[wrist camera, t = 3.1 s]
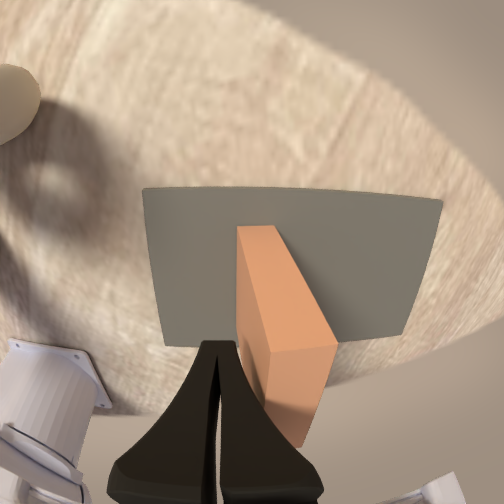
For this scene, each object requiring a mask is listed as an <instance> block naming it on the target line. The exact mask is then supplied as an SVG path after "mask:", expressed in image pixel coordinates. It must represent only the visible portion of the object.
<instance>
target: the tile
mask: <svg viewBox="0 0 504 504" xmlns="http://www.w3.org/2000/svg"><path fill="white" fill-rule="evenodd" d="M236 329H237V335H238V342H239V348H240V354H241V360H242V366H243V370H244V373H245V375H246V377H247V380H248V382H249V384H250V386H251V388H252V390H253V392H254V394H255V395H256V397H257V399H258V401H259V402H260V404H261V406H262V407H263V409H264V410H265V412H266V413H267V415H268V416H269V418H270V419H271V420H272V422H273V423H274V425H275V426H276V427H277V428H278V429H279V431H280V432H281V433H282V434H283V436H284V437H285V438H286V439H287V440H288V441H289V442H290V444H291V445H292V446H293V447H294V448H300V447H302V445H303V443H304V440H305V438H306V435H307V433H308V430H309V428H310V425H311V423H312V420H313V417H314V415H315V412H316V410H317V407H318V404H319V401H320V399H321V396H322V393H323V390H324V387H325V384H326V381H327V379H328V376H329V372H330V369H331V366H332V363H333V360H334V357H335V354H336V350H337V347H338V342H337V340H336V338H335V336H334V334H333V332H332V330H331V328H330V327H329V325H328V323H327V321H326V319H325V317H324V315H323V313H322V311H321V310H320V308H319V306H318V304H317V302H316V300H315V298H314V296H313V295H312V293H311V291H310V289H309V287H308V285H307V284H306V282H305V280H304V278H303V276H302V274H301V273H300V271H299V269H298V267H297V265H296V263H295V262H294V260H293V258H292V256H291V254H290V253H289V251H288V249H287V247H286V245H285V244H284V242H283V240H282V238H281V236H280V235H279V233H278V231H277V229H276V228H275V226H274V225H267V226H237V272H236Z"/></svg>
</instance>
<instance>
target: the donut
mask: <svg viewBox="0 0 504 504" xmlns="http://www.w3.org/2000/svg"><path fill="white" fill-rule="evenodd" d="M40 98H41V92H40V88H39V84H38V83H37V82H36V80H35V79H34V77H33V76H32V75H31V74H30V72H29V71H27V70H26V69H24V68H22V67H18V66H14V65H10V64H0V145H2V144H4V143H6V142H8V141H9V140H11V139H13V138H15V137H16V136H18V135H19V134H21V133H22V132H23V131H24V130H25V129H26V128H27V127H28V126H29V125H30V123H31V122H32V120H33V119H34V117H35V115H36V113H37V111H38V108H39V105H40Z"/></svg>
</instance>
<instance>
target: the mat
mask: <svg viewBox="0 0 504 504" xmlns="http://www.w3.org/2000/svg"><path fill="white" fill-rule="evenodd" d="M142 195H143V206H144V216H145V226H146V234H147V242H148V250H149V258H150V265H151V271H152V278H153V284H154V290H155V296H156V302H157V307H158V313H159V318H160V323H161V328H162V333H163V338H164V342H165V346H176V347H200V344H201V342H202V341H203V340H233V341H235V342H236V347H239V342H238V335H237V329H236V272H237V226H267V225H274V226H275V228H276V229H277V231H278V233H279V235H280V236H281V238H282V240H283V242H284V244H285V245H286V247H287V249H288V251H289V253H290V254H291V256H292V258H293V260H294V262H295V263H296V265H297V267H298V269H299V271H300V273H301V274H302V276H303V278H304V280H305V282H306V284H307V285H308V287H309V289H310V291H311V293H312V295H313V296H314V298H315V300H316V302H317V304H318V306H319V308H320V310H321V311H322V313H323V315H324V317H325V319H326V321H327V323H328V325H329V327H330V328H331V330H332V332H333V334H334V336H335V338H336V340H337V342H347V341H357V340H366V339H374V338H382V337H390V336H397V335H401V334H402V332H403V329H404V327H405V325H406V322H407V320H408V317H409V315H410V312H411V309H412V307H413V304H414V301H415V299H416V296H417V293H418V290H419V287H420V284H421V282H422V279H423V275H424V272H425V269H426V266H427V263H428V260H429V256H430V253H431V249H432V246H433V242H434V239H435V235H436V231H437V227H438V223H439V219H440V215H441V210H442V206H443V201H441V200H438V199H430V198H421V197H412V196H402V195H392V194H381V193H370V192H357V191H342V190H326V189H306V188H279V187H169V188H144V189H143V190H142Z"/></svg>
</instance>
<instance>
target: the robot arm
mask: <svg viewBox="0 0 504 504" xmlns="http://www.w3.org/2000/svg"><path fill="white" fill-rule="evenodd" d="M8 344H9V346H10V350H9V351H8V353H7V355H6V356H5V358H4V359H3V361H2V363H1V364H0V504H92V500H91V497H90V494H89V491H88V489H87V487H86V485H85V484H84V483H83V482H82V477H83V473H81V472H80V471H78V470H76V468H77V464H78V460H79V457H80V453H81V449H82V445H83V442H84V438H85V435H86V431H87V428H88V424H89V421H90V418H91V415H92V412H93V409H94V406H96V407H102V408H108V409H110V408H112V403H111V401H110V399H109V397H108V395H107V393H106V391H105V389H104V387H103V385H102V383H101V381H100V379H99V377H98V375H97V373H96V371H95V369H94V367H93V365H92V363H91V360H90V358H89V356H88V354H87V353H86V352H84V351H81V350H74V349H67V348H61V347H55V346H49V345H44V344H38V343H33V342H28V341H23V340H18V339H14V338H9V339H8ZM220 395H221V404H222V407H221V455H220V456H221V457H220V488H221V492H222V496H223V500H224V504H318V502H317V499H318V498H319V497H320V496H321V494H322V493H323V492H324V487H323V484H322V482H321V479H320V477H319V475H318V473H317V471H316V469H315V468H314V466H313V465H312V464H311V463H310V462H309V461H308V460H306V458H304V457H303V456H302V455H301V454H300V453H299V452H298V451H297V450H296V449H295V448H294V447H293V446H292V445H291V444H290V442H289V441H288V440H287V439H286V438H285V437H284V436H283V434H282V433H281V432H280V431H279V429H278V428H277V427H276V426H275V425H274V423H273V422H272V420H271V419H270V418H269V416H268V415H267V413H266V412H265V410H264V409H263V407H262V406H261V404H260V402H259V401H258V399H257V397H256V395H255V394H254V392H253V390H252V388H251V386H250V384H249V382H248V380H247V377H246V375H245V373H244V370H243V368H242V365H241V362H240V359H239V356H238V352H237V348H236V342H235V341H233V340H203V341H202V342H201V344H200V348H199V350H198V353H197V356H196V358H195V360H194V363H193V365H192V367H191V369H190V371H189V373H188V375H187V377H186V379H185V381H184V382H183V384H182V386H181V388H180V389H179V391H178V393H177V394H176V396H175V397H174V399H173V400H172V402H171V403H170V405H169V406H168V408H167V409H166V410H165V412H164V413H163V414H162V416H161V417H160V418H159V419H158V420H157V422H156V423H155V424H154V425H153V426H152V428H151V429H150V430H149V431H148V432H147V433H146V434H145V435H144V436H143V437H142V438H141V439H140V440H139V441H138V442H137V443H136V444H135V445H134V446H133V447H132V448H130V449H129V450H128V451H127V452H126V453H124V454H123V455H122V456H121V457H120V458H118V459H117V460H116V461H115V463H114V465H113V467H112V470H111V473H110V475H109V480H108V486H107V494H108V495H109V496H110V497H111V498H112V499H113V500H115V501H116V502H118V503H119V504H217V491H216V444H215V443H216V429H217V420H218V411H219V401H220ZM378 504H466V502H465V499H464V496H463V493H462V491H461V488H460V486H459V483H458V481H457V478H456V476H455V473H454V471H450V472H448V473H447V474H444V475H442V476H440V477H438V478H435V479H433V480H431V481H429V482H428V483H426V484H425V485H423V486H422V487H421V488H419V489H417V490H414V491H412V492H409V493H407V494H404V495H401V496H399V497H396V498H393V499H390V500H387V501H384V502H381V503H378Z"/></svg>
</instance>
